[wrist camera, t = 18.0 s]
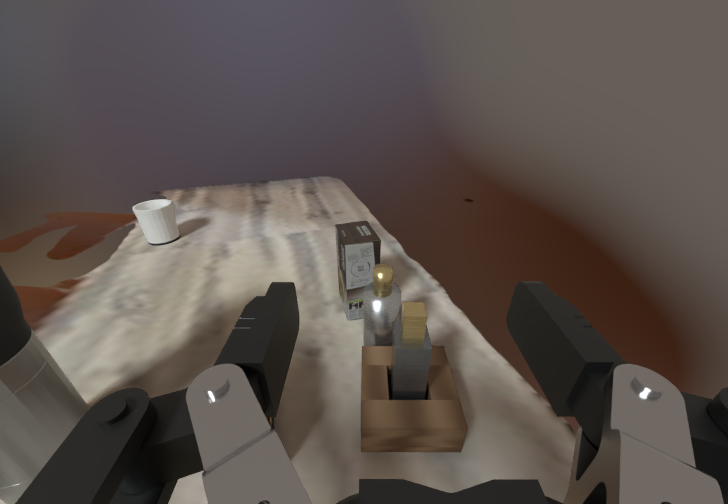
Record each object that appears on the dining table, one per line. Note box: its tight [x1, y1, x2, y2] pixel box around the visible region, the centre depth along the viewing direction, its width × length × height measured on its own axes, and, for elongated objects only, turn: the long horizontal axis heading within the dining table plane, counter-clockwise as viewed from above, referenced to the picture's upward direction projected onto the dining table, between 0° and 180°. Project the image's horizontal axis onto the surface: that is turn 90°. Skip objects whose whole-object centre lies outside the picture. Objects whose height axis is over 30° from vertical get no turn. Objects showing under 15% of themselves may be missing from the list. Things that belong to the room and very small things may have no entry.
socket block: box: [361, 346, 467, 452], centre depth 40 cm, size 12×12×5 cm
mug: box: [133, 199, 180, 245], centre depth 85 cm, size 11×9×10 cm
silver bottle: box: [363, 264, 401, 346], centre depth 46 cm, size 6×6×16 cm
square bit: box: [390, 302, 432, 400], centre depth 37 cm, size 4×4×16 cm
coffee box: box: [335, 221, 381, 320], centre depth 57 cm, size 9×6×16 cm
